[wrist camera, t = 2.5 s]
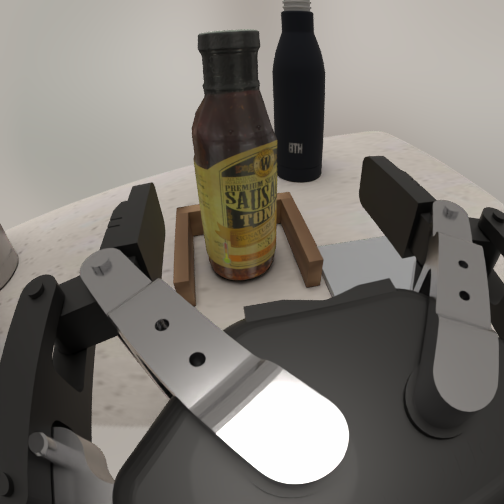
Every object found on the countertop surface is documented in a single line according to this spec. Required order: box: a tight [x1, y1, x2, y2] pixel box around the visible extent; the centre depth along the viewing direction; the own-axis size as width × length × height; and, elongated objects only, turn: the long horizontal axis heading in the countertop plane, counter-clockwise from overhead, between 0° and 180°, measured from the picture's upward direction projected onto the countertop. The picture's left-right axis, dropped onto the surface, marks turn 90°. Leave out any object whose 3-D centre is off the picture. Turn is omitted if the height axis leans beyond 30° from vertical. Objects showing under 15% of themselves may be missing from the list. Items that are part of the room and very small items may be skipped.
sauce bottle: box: [192, 30, 277, 280], centre depth 22 cm, size 7×6×20 cm
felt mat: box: [318, 236, 416, 297], centre depth 26 cm, size 10×9×1 cm
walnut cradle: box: [173, 192, 324, 306], centre depth 28 cm, size 12×11×3 cm
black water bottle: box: [273, 0, 325, 182], centre depth 32 cm, size 6×6×30 cm
